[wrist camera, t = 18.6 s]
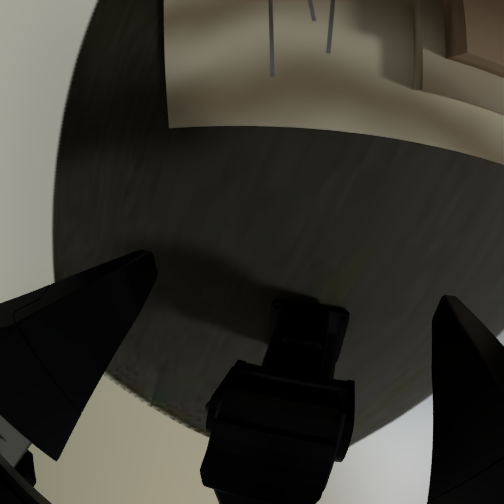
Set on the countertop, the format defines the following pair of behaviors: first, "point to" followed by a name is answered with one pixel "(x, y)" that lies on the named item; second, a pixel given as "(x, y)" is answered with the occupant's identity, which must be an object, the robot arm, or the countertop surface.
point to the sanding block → (460, 50)
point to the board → (312, 72)
